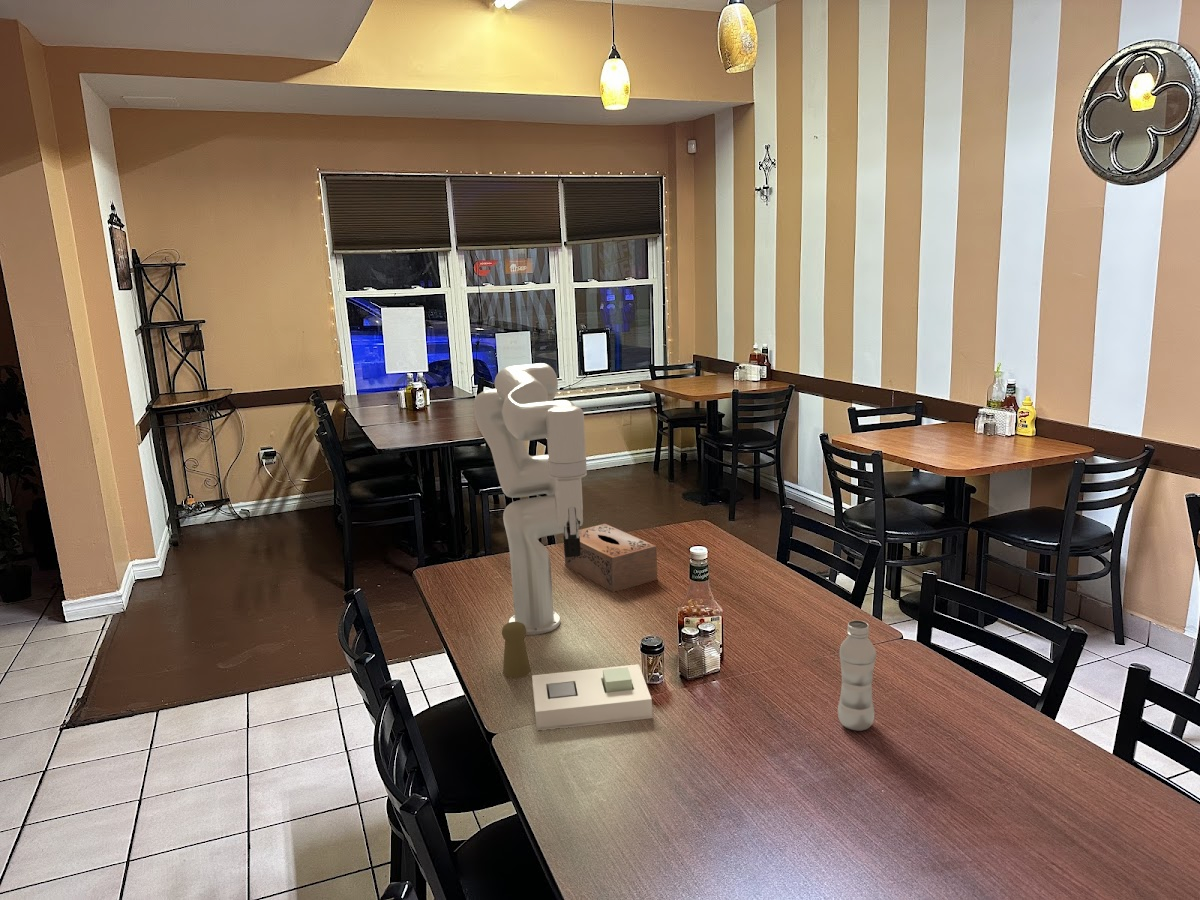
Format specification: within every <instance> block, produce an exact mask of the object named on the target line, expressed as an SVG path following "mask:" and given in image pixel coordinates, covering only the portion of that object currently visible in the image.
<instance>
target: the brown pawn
mask: <svg viewBox="0 0 1200 900" xmlns="http://www.w3.org/2000/svg"><path fill="white" fill-rule="evenodd" d="M501 635H502V638H503V640H504V653H503V665H502V675H503V676H504V677H506V678H509V679H522V678H524V677H527V676H528V675H530V673H531V672H532V667H531V664H530V659H529V653H528V650H527V644H526V640H525V638H526V636H527V635H526V627H525V625H524V624H523V623H520V622H510V623H509V622H507V623H505V624H504V625H503V627H502V630H501Z"/></svg>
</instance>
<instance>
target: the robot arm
mask: <svg viewBox="0 0 1200 900" xmlns="http://www.w3.org/2000/svg"><path fill="white" fill-rule="evenodd" d="M494 387H495V388H492V389H491V388H490V389H487V390H483V391H480V393H478V394H477V395H476V396H475V398H474V401H473V413H474V419H475V421H476V425H477V428H478V429H479V431H480V433H481V435H482V437H483V438H484V440H485V441H486V444H487V445H488V447H489V448H490V452H491V454H492V459H493V463H494V467H495V471H496V474H497V478H498V481H499V484H500V485H499V486H500V487H501V490H502V493H503V494H504V495H505V496H506V497H507V498H513V499H514V498H515V499H516V498H521V499H519V500H516V501H513V502H510V503H509V504H508V505H507V506H506V507H505V508H504V510H503V514H502V518H503V525H504V528H505V532H506V537H507V538H506V539H507V543H508V551H509V557H510V558H509V560H510V572H511V573H510V574H511V584H512V598H513V599H512V601H513V614H514V615H512V616H511V617H510V618H509V620H508V623H510V622H520V623H523V624H524V625H525V627H526V636H527V635H530V636H531V635H532V636H537V635H541V634H542V635H543V634H545V633H548V632H552V631H554V630H555V629H557V628H558V627H559V625H560V624H561V616H560V615H559V614H558V613H557V612H556V611H554V599H553V596H554V595H553V583H552V567H551V565H552V564H551V555H550V552H549V550H548V548H546V546H545V545H544V544H542V543H541V542H540V541H539V539H540V538H545V537H548V536H549V537H550V536H555V535H560V534H564V536H563V551H564V558H565V557H576V556H580V555H581V550H580V537H579V530H580V529H579V528H580V527H582V526H583V523H584V517H583V515H584V513H583V510H584V508H583V506H584V505H583V503H584V502H583V486H582V484H583V482H582V478H585V477H586V476H588V472H587V471H588V469H587V467H588V466H587V453H586V451H587V450H586V447H587V446H586V432H585V431H586V428H585V414H584V411H583V409H582V408H581V407H579V406H576V405H575V403H573V402H572V401H571V400H568V399H559V400H558V399H557V400H554V399H555V397H556V395H557V392H558V388H559V383H558V376H557V373H556V372H555V370H554V368H553V367H551V365H549V364H547V363H545V362H543V363H541V362H540V363H531V364H530V363H529V364H519V365H517V364H515V365H510V366H507V367H503V368H502V369H501V370H500V371H499V372H497V374H496V376H495V379H494ZM541 439H546V442H547V443H546V444H547V454H538V455H530V454H529V452H528V449H527V445H526V443H525V442H526V441H529V442H530V441H535V440H541ZM544 494H545V495H544ZM537 495H544V496H537ZM530 496H534V497H530ZM535 496H536V497H535ZM525 497H529V498H525ZM523 498H524V499H523Z"/></svg>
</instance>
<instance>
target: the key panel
mask: <svg viewBox="0 0 1200 900" xmlns="http://www.w3.org/2000/svg"><path fill="white" fill-rule="evenodd" d="M625 667H628V670H629V673H630V676H631V679H632V690H626V691H617V692H608V693H606V691H605V688H604V684H603V670H606V669H615V668H625ZM531 680H532V681H531V682H532V695H533V703H534V704H533V706H534V714H535V715H534V716H535V726H536V731H537V732H539V731H538V730H542V731H547V730H546V729H551V730H556V729H555V728H560V729H566V728H567V729H568V727H569V728H574V727H575V728H577V727H585V726H594V725H603V724H610V723H611V724H612V723H621V722H629V721H637V720H647V719H653V699H652V696H651V693H650V691H649V688H648V685H647V683H646V680H645V677H644V674H643V672H642V670H641V667H640V664H639V663H638V664H630V665H620V666H609V667H600V668H590V669H580V670H572V671H571V670H570V671H561V672H552V673H551V672H550V673H543V674H534V675H533V674H532V675H531ZM567 682H573V683H574V688H575V693H576V696H571V697H562V698H553V699H549V689H548V684H558V683H567Z"/></svg>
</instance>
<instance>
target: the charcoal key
mask: <svg viewBox="0 0 1200 900" xmlns="http://www.w3.org/2000/svg"><path fill="white" fill-rule="evenodd" d="M548 689H549V699H553V698H562V697H571V696H576V693H575V688H574V683H573V682H567V683H558V684H548Z"/></svg>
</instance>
